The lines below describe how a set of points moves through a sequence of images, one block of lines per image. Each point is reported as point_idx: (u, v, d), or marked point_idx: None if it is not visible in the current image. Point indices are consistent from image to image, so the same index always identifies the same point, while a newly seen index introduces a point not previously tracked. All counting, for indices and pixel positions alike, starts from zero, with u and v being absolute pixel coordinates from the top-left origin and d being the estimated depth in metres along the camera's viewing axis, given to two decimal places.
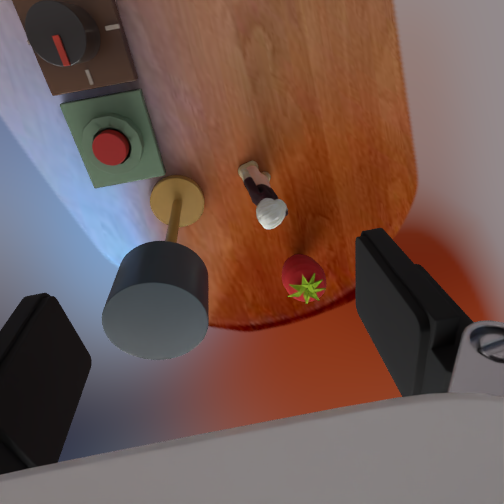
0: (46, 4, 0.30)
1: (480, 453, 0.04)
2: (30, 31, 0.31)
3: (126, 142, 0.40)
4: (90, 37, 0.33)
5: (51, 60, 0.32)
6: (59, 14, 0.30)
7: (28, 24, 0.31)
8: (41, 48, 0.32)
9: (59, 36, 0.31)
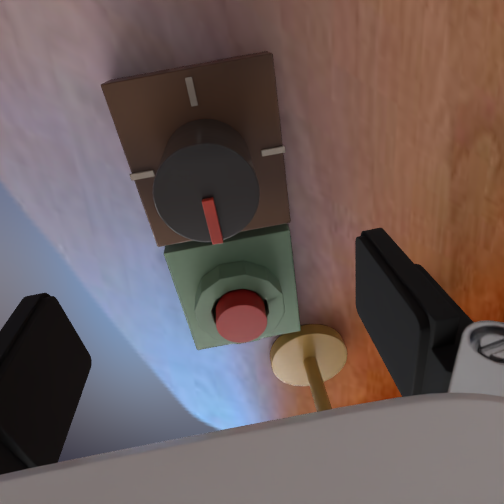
0: (200, 151, 0.16)
1: (480, 454, 0.04)
2: (162, 194, 0.16)
3: (264, 306, 0.26)
4: None
5: (190, 234, 0.18)
6: (220, 165, 0.16)
7: (160, 183, 0.16)
8: (177, 218, 0.17)
9: (214, 200, 0.17)
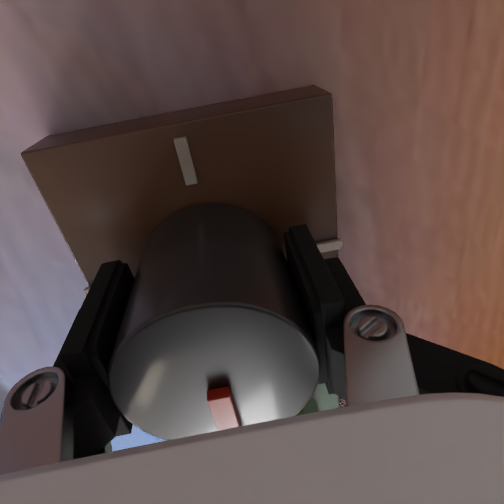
0: (203, 317, 0.07)
1: (480, 454, 0.04)
2: (127, 387, 0.08)
3: None
4: None
5: None
6: (245, 338, 0.08)
7: (122, 373, 0.08)
8: (158, 419, 0.09)
9: (231, 391, 0.08)
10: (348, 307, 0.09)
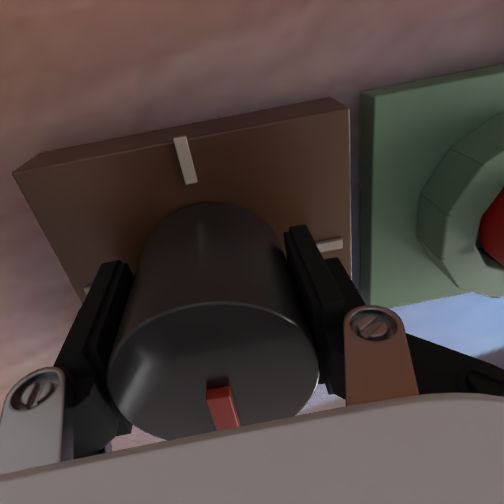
0: (204, 316, 0.07)
1: (480, 453, 0.04)
2: (126, 386, 0.08)
3: None
4: None
5: None
6: (245, 338, 0.08)
7: (121, 371, 0.08)
8: (157, 418, 0.09)
9: (230, 390, 0.08)
10: (348, 307, 0.09)
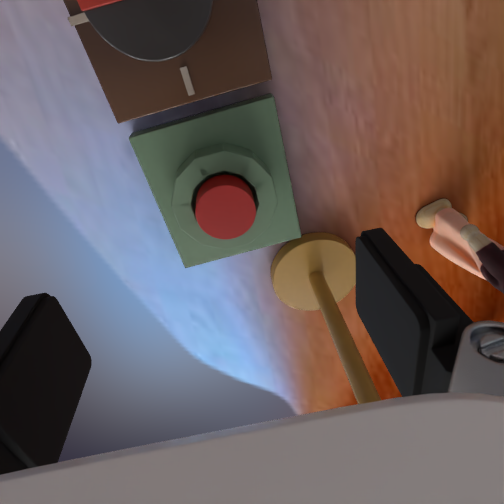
0: None
1: (480, 453, 0.04)
2: None
3: None
4: None
5: None
6: (188, 3, 0.13)
7: None
8: None
9: None
10: None
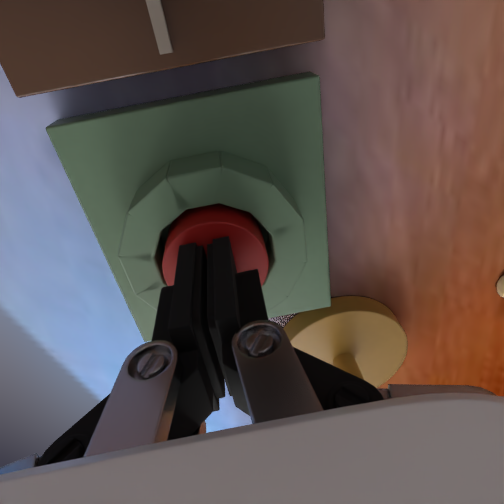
0: None
1: (480, 453, 0.04)
2: None
3: (262, 236, 0.13)
4: None
5: None
6: None
7: None
8: None
9: None
10: (251, 321, 0.09)
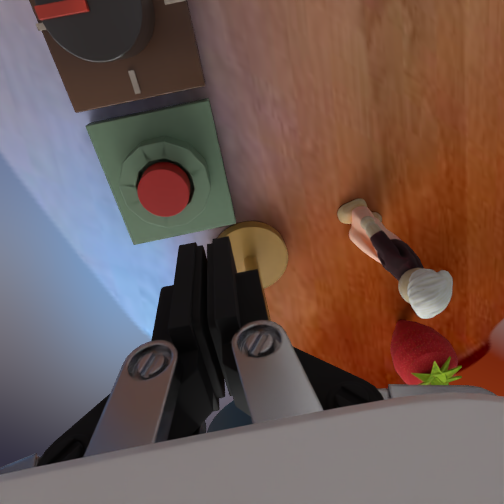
0: (134, 0, 0.17)
1: (480, 453, 0.04)
2: None
3: (188, 180, 0.26)
4: None
5: None
6: (122, 20, 0.18)
7: None
8: None
9: (86, 11, 0.17)
10: (251, 321, 0.09)
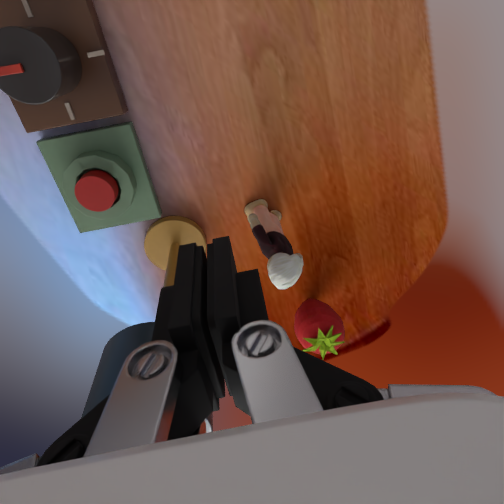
0: (54, 65, 0.25)
1: (480, 453, 0.04)
2: (17, 33, 0.24)
3: (115, 184, 0.34)
4: None
5: None
6: (48, 77, 0.26)
7: (25, 33, 0.24)
8: (0, 42, 0.24)
9: (22, 72, 0.25)
10: (251, 321, 0.09)
